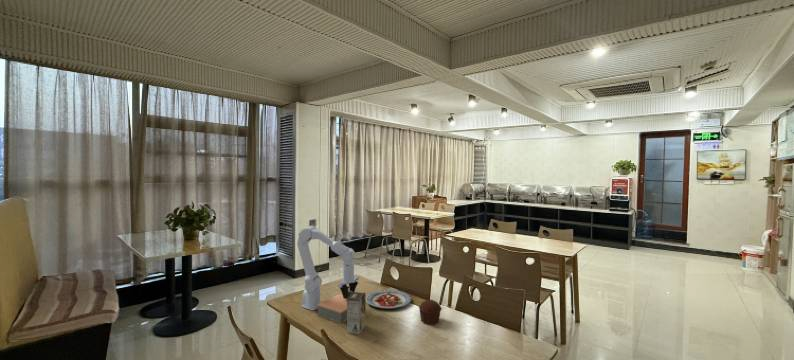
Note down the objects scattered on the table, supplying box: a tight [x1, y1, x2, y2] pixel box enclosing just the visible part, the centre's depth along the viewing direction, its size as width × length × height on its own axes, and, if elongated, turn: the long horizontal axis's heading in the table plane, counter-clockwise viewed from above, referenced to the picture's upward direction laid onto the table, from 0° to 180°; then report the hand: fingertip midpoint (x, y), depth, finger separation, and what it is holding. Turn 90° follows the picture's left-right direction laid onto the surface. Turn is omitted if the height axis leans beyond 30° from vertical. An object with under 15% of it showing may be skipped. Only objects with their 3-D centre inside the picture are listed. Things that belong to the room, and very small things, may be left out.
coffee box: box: [346, 292, 367, 335], centre depth 158 cm, size 9×6×16 cm
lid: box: [317, 289, 353, 313], centre depth 174 cm, size 17×17×5 cm
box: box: [317, 306, 347, 324], centre depth 174 cm, size 16×16×5 cm
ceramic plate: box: [366, 289, 412, 309], centre depth 190 cm, size 26×26×3 cm
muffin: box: [418, 299, 443, 326], centre depth 167 cm, size 12×11×10 cm
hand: (348, 296), depth 180 cm, fingers open, 5 cm apart
